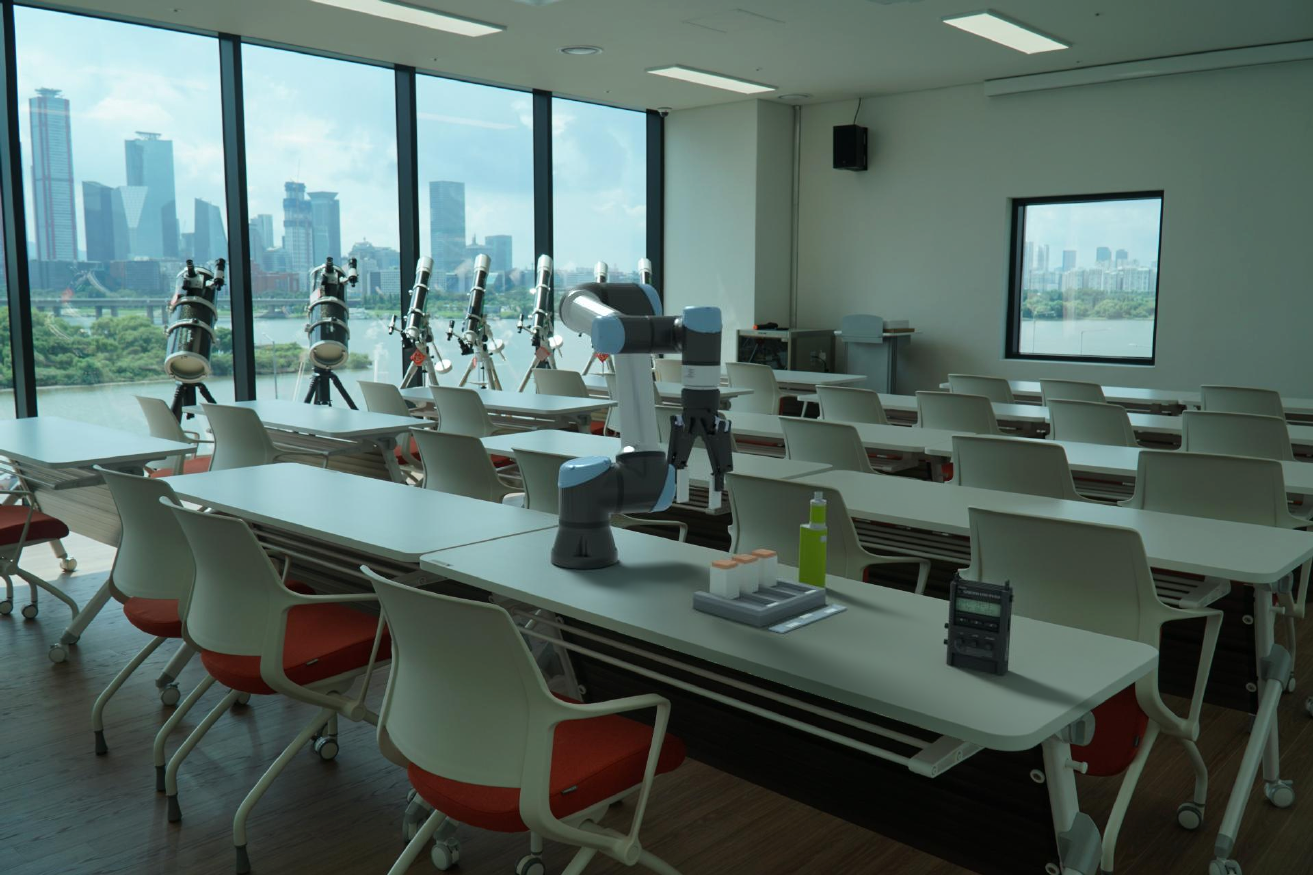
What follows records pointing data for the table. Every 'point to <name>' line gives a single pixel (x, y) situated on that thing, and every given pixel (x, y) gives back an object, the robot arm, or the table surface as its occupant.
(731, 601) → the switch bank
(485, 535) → the table surface
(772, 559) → the white orange-topped block
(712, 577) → the orange topped white block
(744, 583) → the orange-topped white block
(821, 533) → the vape
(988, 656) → the geiger counter
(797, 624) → the label card
